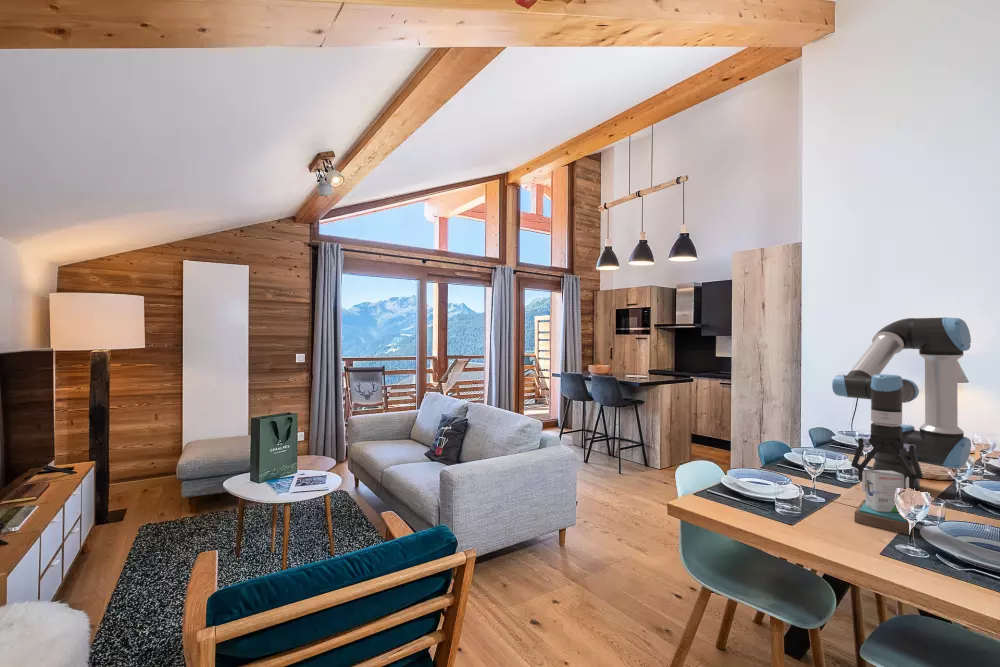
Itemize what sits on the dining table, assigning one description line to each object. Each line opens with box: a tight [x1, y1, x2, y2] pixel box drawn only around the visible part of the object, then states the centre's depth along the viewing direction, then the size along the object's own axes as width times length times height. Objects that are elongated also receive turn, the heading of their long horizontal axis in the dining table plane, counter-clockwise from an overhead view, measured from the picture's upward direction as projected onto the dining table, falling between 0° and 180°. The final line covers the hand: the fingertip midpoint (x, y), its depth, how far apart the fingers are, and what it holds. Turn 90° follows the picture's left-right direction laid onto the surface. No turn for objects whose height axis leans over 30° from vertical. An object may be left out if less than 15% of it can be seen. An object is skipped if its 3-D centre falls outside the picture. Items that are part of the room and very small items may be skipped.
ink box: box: [865, 469, 905, 512], centre depth 145 cm, size 9×5×12 cm, turn 85°
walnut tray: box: [854, 499, 909, 536], centre depth 145 cm, size 16×13×4 cm
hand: (885, 494), depth 145 cm, fingers open, 10 cm apart
